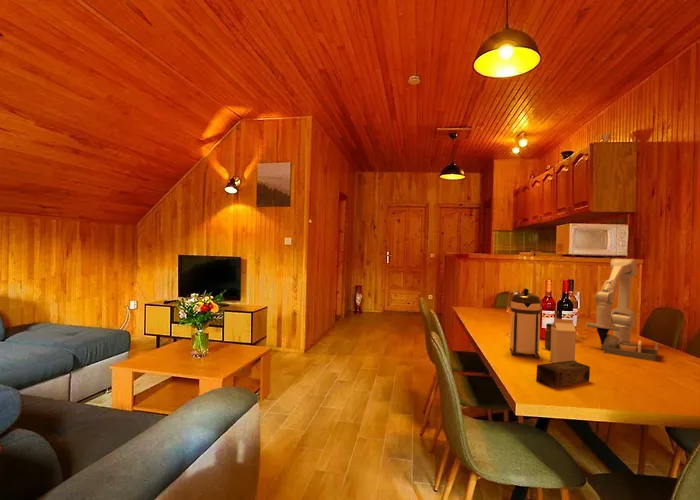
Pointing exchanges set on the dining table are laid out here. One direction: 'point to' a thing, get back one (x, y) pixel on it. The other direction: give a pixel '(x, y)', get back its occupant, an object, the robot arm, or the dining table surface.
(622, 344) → the amber jar
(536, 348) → the coffee press
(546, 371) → the dark brown block
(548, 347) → the condiment
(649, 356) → the pusher lane
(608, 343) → the slate jar
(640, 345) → the pusher plate
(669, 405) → the dining table surface
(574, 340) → the milk carton
